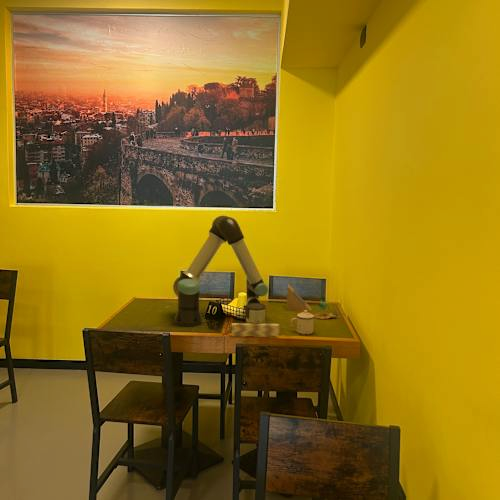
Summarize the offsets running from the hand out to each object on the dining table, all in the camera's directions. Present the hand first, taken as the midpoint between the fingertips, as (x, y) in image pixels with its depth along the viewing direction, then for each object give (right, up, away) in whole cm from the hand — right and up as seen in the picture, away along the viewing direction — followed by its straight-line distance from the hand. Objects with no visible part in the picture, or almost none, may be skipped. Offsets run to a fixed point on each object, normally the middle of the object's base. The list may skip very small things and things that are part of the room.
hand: (256, 315), depth 249 cm
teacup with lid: (+24, -8, -2) cm, 25 cm away
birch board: (-1, -9, -10) cm, 14 cm away
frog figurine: (+40, -5, +26) cm, 48 cm away
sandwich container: (+27, -2, +44) cm, 52 cm away
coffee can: (-1, -8, -4) cm, 9 cm away
